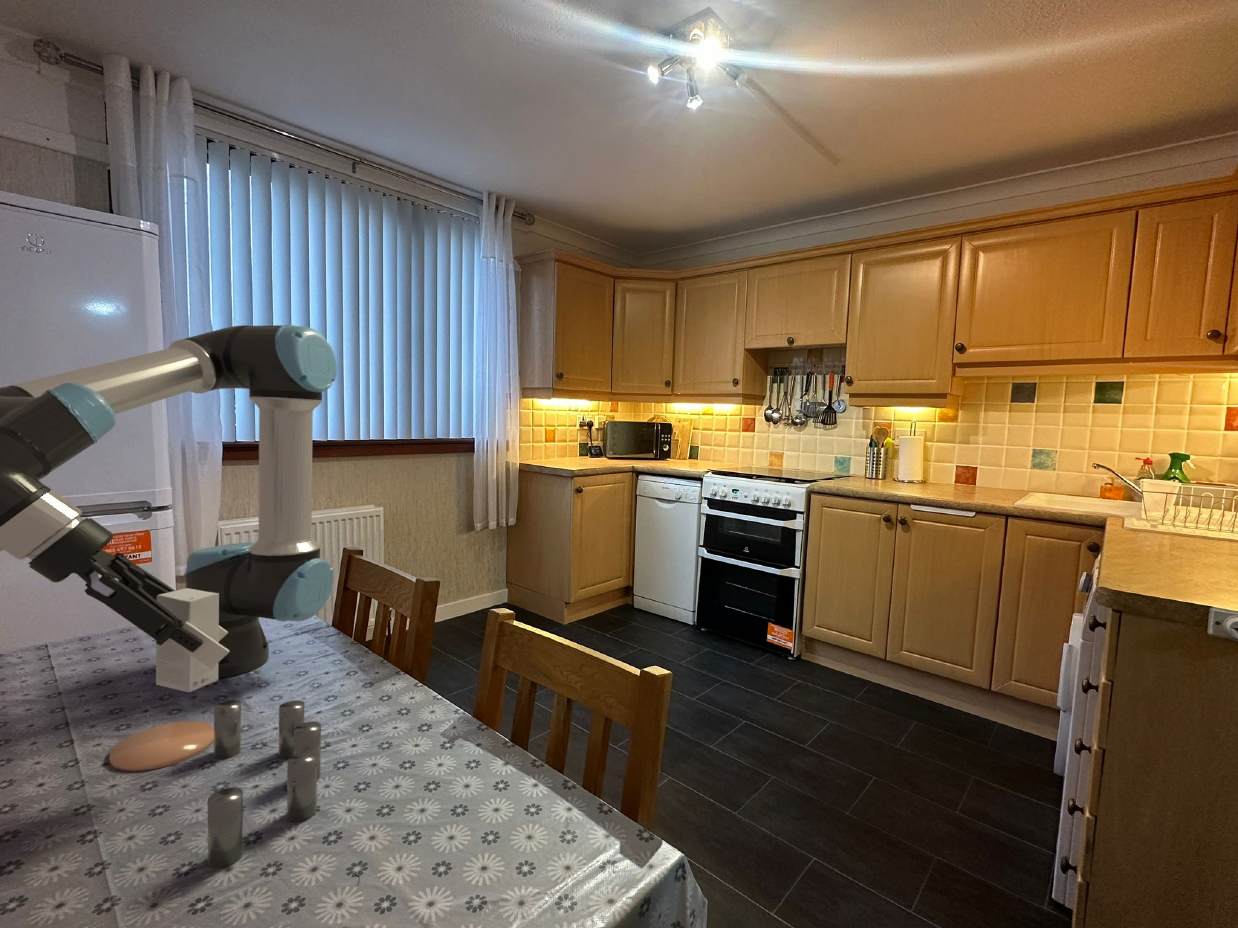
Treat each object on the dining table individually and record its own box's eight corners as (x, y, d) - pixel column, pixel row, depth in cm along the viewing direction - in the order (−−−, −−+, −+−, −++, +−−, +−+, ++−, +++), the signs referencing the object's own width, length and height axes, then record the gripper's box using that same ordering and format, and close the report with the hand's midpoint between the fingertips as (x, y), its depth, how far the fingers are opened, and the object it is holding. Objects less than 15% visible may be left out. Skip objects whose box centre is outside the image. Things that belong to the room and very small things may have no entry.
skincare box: (219, 680, 80) (220, 593, 79) (188, 693, 76) (189, 601, 75) (186, 672, 81) (187, 586, 81) (154, 684, 77) (154, 594, 77)
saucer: (181, 719, 93) (181, 714, 93) (233, 737, 89) (233, 732, 89) (89, 757, 82) (89, 751, 82) (144, 779, 78) (144, 773, 78)
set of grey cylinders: (255, 732, 91) (256, 687, 90) (376, 771, 82) (377, 722, 81) (92, 812, 71) (91, 755, 71) (227, 875, 62) (227, 811, 62)
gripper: (44, 545, 77) (196, 646, 87) (-1, 584, 60) (194, 703, 71) (98, 503, 80) (240, 606, 90) (69, 529, 63) (247, 652, 73)
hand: (219, 649), depth 80 cm, fingers closed on skincare box, 7 cm apart
